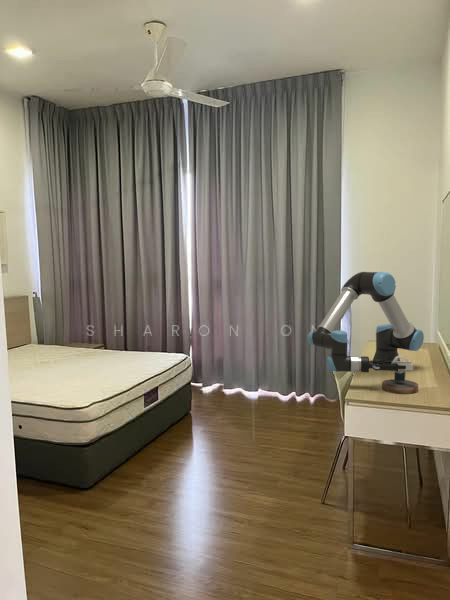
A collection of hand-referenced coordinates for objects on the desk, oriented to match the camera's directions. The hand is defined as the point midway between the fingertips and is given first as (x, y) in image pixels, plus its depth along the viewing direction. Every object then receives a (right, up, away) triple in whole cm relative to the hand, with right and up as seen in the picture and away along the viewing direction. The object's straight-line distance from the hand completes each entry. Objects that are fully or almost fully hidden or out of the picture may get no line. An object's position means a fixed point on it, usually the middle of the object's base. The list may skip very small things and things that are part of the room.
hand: (412, 365), depth 222 cm
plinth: (-5, -11, +2) cm, 12 cm away
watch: (-5, -7, +2) cm, 9 cm away
